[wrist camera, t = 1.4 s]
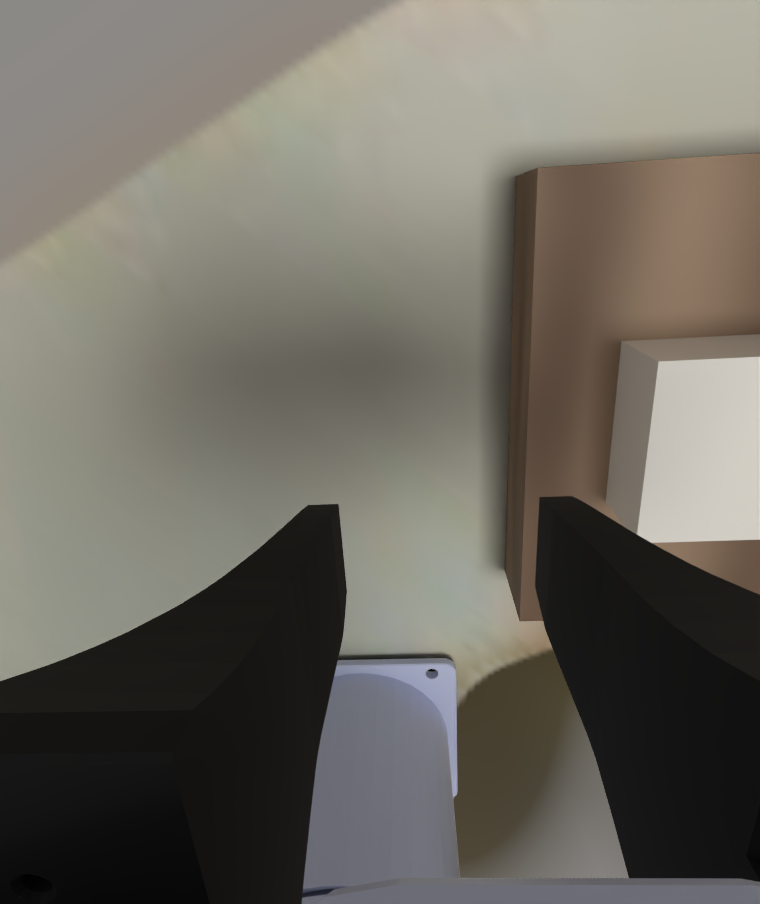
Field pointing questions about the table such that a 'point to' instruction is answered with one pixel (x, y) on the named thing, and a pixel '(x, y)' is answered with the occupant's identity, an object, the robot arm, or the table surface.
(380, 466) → the table surface
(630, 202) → the walnut plate
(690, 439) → the block
